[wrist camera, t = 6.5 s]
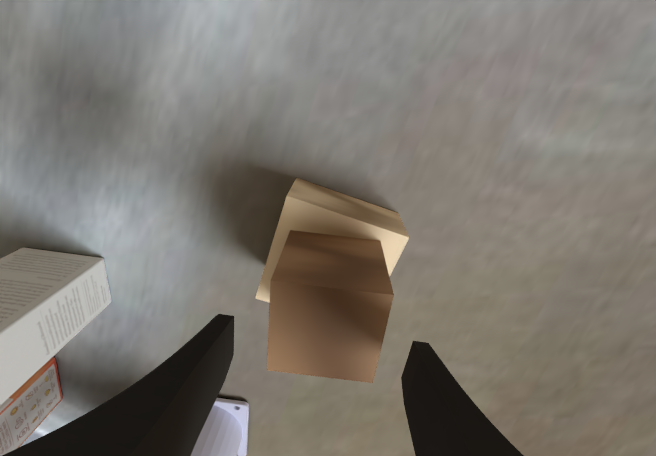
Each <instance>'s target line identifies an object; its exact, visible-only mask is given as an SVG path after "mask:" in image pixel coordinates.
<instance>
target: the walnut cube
mask: <svg viewBox="0 0 656 456" xmlns="http://www.w3.org/2000/svg"><path fill="white" fill-rule="evenodd" d="M393 296H394V294H393V290H392V286H391V282H390V278H389V274H388V269H387V265H386V261H385V257H384V253H383V249H382V245H381V241H378V240H370V239H362V238H353V237H345V236H336V235H328V234H320V233H311V232H303V231H295V230H290V232H289V235H288V237H287V240H286V242H285V245H284V247H283V250H282V252H281V255H280V257H279V260H278V263H277V265H276V268H275V270H274V273H273V275H272V278H271V280H270V305H269V329H268V353H267V370H270V371H278V372H286V373H295V374H303V375H311V376H320V377H328V378H336V379H344V380H353V381H361V382H369V383H373V380H374V376H375V372H376V368H377V364H378V359H379V355H380V351H381V347H382V343H383V338H384V334H385V330H386V326H387V322H388V317H389V313H390V309H391V305H392V300H393Z"/></svg>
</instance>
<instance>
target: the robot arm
mask: <svg viewBox="0 0 656 456" xmlns="http://www.w3.org/2000/svg"><path fill="white" fill-rule="evenodd" d="M233 352H234V316H229V315H222V314H218V315H217V316H215V317H214V318H213V319H212V320H211V321H210V322H209V323H208V324H207V325H206V326H205V327H204V328H203V329H202V330H201V331H200V332H198V333H197V334H196V335H195V336H194V337H193V338H192V339H191V340H190V341H188V342H187V343H186V344H185V345H184V346H183V347H181V348H180V349H179V350H178V351H177V352H176V353H174V354H173V355H172V356H171V357H169V358H168V359H167V360H166V361H164V362H163V363H162V364H161V365H159V366H158V367H157V368H156V369H154V370H153V371H152V372H150V373H149V374H147V375H146V376H145V377H143V378H142V379H141V380H139V381H138V382H136V383H135V384H133V385H132V386H130V387H129V388H127V389H126V390H124V391H123V392H121V393H120V394H118V395H116V396H115V397H113V398H112V399H110V400H109V401H107V402H105V403H104V404H102V405H100V406H99V407H97V408H95V409H94V410H92V411H90V412H88V413H87V414H85V415H83V416H81V417H79V418H77V419H76V420H74V421H72V422H70V423H68V424H66V425H64V426H62V427H61V428H59V429H57V430H55V431H53V432H51V433H49V434H47V435H45V436H43V437H41V438H38V439H36V440H34V441H32V442H30V443H28V444H26V445H24V446H21V447H19V448H17V449H15V450H13V451H11V452H9V453H6V454H4V455H2V456H246V455H247V440H248V419H249V404H248V403H247V402H244V401H237V400H230V399H223V398H217V396H218V394H219V392H220V390H221V388H222V385H223V383H224V381H225V378H226V375H227V373H228V370H229V367H230V364H231V361H232V358H233ZM401 379H402V389H403V398H404V406H405V410H406V415H407V419H408V424H409V428H410V433H411V437H412V442H413V446H414V450H415V455H416V456H523V455H522V454H521V453H520V452H519V451H518V450H517V449H516V448H515V447H514V446H513V445H512V444H511V443H510V442H509V441H508V440H507V439H506V438H505V437H504V436H503V435H502V434H501V433H500V431H499V430H498V429H497V428H496V427H495V426H494V425H493V424H492V423H491V422H490V421H489V420H488V419H487V418H486V416H485V415H484V414H483V413H482V412H481V411H480V409H479V408H478V407H477V406H476V405H475V404H474V402H473V401H472V400H471V399H470V398H469V396H468V395H467V394H466V393H465V391H464V390H463V389H462V388H461V386H460V385H459V384H458V382H457V381H456V380H455V379H454V377H453V376H452V375H451V373H450V372H449V371H448V369H447V368H446V366H445V365H444V364H443V362H442V361H441V360H440V358H439V357H438V356H437V354H436V353H435V351H434V350H433V349H432V347H431V346H430V345H429V343H425V342H417V341H413V343H412V346H411V349H410V352H409V356H408V359H407V362H406V365H405V368H404V371H403V374H402V377H401Z"/></svg>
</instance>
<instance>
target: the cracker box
mask: <svg viewBox="0 0 656 456" xmlns="http://www.w3.org/2000/svg"><path fill="white" fill-rule="evenodd" d="M62 398H63V397H62V392H61V386H60V381H59V375H58V369H57V363H56V359H55V358H54V357H52V358H51V359H50V360H49V361H48V362H47V363H46V364H45V365H43V366H42V367H41V368H40V369H39V370H38V371H37V372H36V373H35V374H34V375H33V376H32V377H30V378H29V379H28V380H27V381H26V382H25V383H24V384H23V385H22V386H21V387H20V388H19V389H18V390H17V391H16V392H15V393H13V394H12V395H11V396H10V397H9V398H8V399H7V400H6V401H5V402H4V403H3V404H2V405H0V456H2V455H4V454H6V453H9V452H11V451H13V450H15V449H17V448H19V447H20V446H21V445H22V444H23V442H24V441H25V440H26V439H27V438H28V437H29V436H30V435H31V434H32V433H33V431H34V430H35V429H36V428H37V427H38V426H39V425H40V424H41V422H42V421H43V420H44V419H45V418H46V417H47V416H48V414H49V413H50V412H51V411H52V410H53V409H54V408H55V407H56V405H57V404H58V403H59V402H60V401H61V400H62Z"/></svg>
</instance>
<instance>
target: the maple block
mask: <svg viewBox="0 0 656 456" xmlns="http://www.w3.org/2000/svg"><path fill="white" fill-rule="evenodd" d="M290 230H295V231H303V232H311V233H320V234H328V235H336V236H345V237H353V238H362V239H370V240H378V241H381V245H382V249H383V253H384V257H385V261H386V265H387V269H388V274H389V277H390V275H391V273H392V271H393V269H394V267H395V265H396V263H397V261H398V259H399V257H400V255H401V253H402V251H403V249H404V247H405V245H406V243H407V241H408V239H409V236H408V233H407V231H406V229H405V227H404V225H403V222H402V220H401V218H400V216H399V214H398V213H396V212H394V211H391V210H388V209H385V208H382V207H379V206H376V205H373V204H371V203H368V202H365V201H362V200H359V199H356V198H353V197H351V196H348V195H345V194H342V193H339V192H336V191H333V190H330V189H328V188H325V187H322V186H319V185H316V184H313V183H310V182H308V181H305V180H302V179H299V178H296V179H295V181H294V183H293V185H292V187H291V189H290V190H289V192H288V194H287V196H286V199H285V203H284V206H283V209H282V212H281V216H280V219H279V222H278V226H277V229H276V232H275V235H274V239H273V242H272V245H271V249H270V252H269V255H268V258H267V262H266V265H265V268H264V271H263V275H262V278H261V281H260V285H259V288H258V291H257V294H256V299H259V300H262V301H266V302H269V303H270V280H271V278H272V275H273V273H274V270H275V268H276V265H277V263H278V260H279V257H280V255H281V252H282V250H283V247H284V245H285V242H286V240H287V237H288V235H289V232H290Z"/></svg>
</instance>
